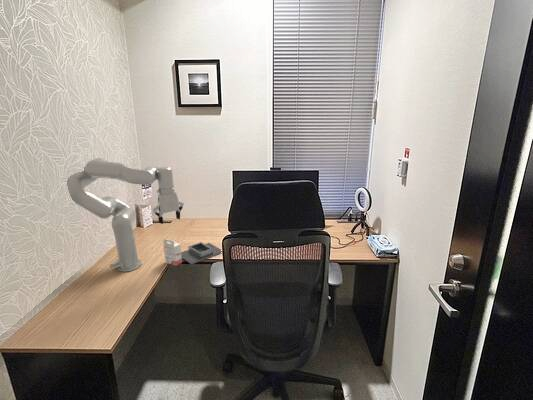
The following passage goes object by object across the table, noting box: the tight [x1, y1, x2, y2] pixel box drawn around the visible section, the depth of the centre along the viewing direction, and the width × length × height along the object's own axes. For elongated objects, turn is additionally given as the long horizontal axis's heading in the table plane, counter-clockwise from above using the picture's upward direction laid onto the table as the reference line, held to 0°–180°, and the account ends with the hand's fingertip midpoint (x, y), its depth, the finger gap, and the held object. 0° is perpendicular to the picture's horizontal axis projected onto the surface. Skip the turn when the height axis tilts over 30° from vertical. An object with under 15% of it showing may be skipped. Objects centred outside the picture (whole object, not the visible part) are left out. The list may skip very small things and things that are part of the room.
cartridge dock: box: [181, 241, 222, 265], centre depth 181 cm, size 22×16×4 cm
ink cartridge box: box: [163, 238, 183, 267], centre depth 169 cm, size 9×5×15 cm, turn 62°
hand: (170, 220), depth 164 cm, fingers open, 9 cm apart
